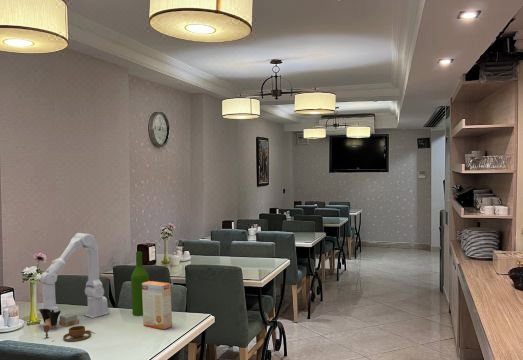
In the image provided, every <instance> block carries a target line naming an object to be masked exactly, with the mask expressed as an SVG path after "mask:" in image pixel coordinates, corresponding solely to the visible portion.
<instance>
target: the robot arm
mask: <svg viewBox="0 0 523 360" xmlns="http://www.w3.org/2000/svg"><path fill="white" fill-rule="evenodd" d="M95 239H96V238H95V236H94V235H92V234H90V233H85V232H84V233H83V232H77V233H75V235H74V236H73V237H72V238H71V239H70V242H69V244H68V245H66V247H65V249H64V251H63V252H62V254H61V255H60V256H59V257H58V258H55V259H53V260H52V261H51V264H50V266H48V268H46V270H45V271H44V272H42V274H41V275H40V277H39V282H40V283H41V285H42V286H41V289H42V303H40V309H39V310H38V311H39V313H40V314H41V317H42V321H43V323H44V324H45V320H46V319H48V318H50V321H51V326H55V327H56V326H57V325H58V321H59V317H60V315H61V310H60V309H59V307H58V305H57V304H56V303H57V301H56V299H57V298H56V283H57V280H58V276H59V275H60V273H61V272H62V271H63V269H64V268H65V267H66V262H67V260H68V259H69V258H70V257H71V256H72V254H73V253H75V251H76V250H78V249H81V248H84V249H85V250H86V251H87V281H86V283H85V288H84V294H85V296H86V297H87V313H86V314H84V316H86V317H89V318H91V319H94V318H97V317H101V316H104V315H108V314H109V312H108V311H109V310H108V309H109V308H108V299H107V297H106V296H104V295H105V289H104V287H103V282H102V281H101V280H100V265H99V264H100V263H99V260H100V259H99V245H98V243H97V241H96V240H95Z"/></svg>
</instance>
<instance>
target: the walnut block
mask: <svg viewBox="0 0 523 360" xmlns="http://www.w3.org/2000/svg"><path fill="white" fill-rule="evenodd" d="M79 324H80V318H77V320H74V321H71V322H67V323H65V322H62V321H60V320H58V325H59V326H62V327H64V328H69V327H74V326H77V325H79Z"/></svg>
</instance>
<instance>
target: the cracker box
mask: <svg viewBox="0 0 523 360" xmlns="http://www.w3.org/2000/svg"><path fill="white" fill-rule="evenodd" d="M171 291H172V290H171V283H170V282H162V281H154V280H152V281H151V280H149V281H148V282H144V283H142V299H143V316H142V317H143V318H142V319H143V321H142V322H143V324H142V325H143V326H144V327H147V328H149V327H150V328H153V329H159V330H162V331H163V330H167V329H169V328H172V327H173V318H172V317H173V315H172V296H171V295H172V292H171Z"/></svg>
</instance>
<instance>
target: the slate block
mask: <svg viewBox="0 0 523 360" xmlns="http://www.w3.org/2000/svg"><path fill="white" fill-rule="evenodd" d="M77 319H78V315H77V313H73V312H68V313H66V314H60V315H59V321H62V322H65V323H67V322H71V321H74V320H77Z"/></svg>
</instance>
